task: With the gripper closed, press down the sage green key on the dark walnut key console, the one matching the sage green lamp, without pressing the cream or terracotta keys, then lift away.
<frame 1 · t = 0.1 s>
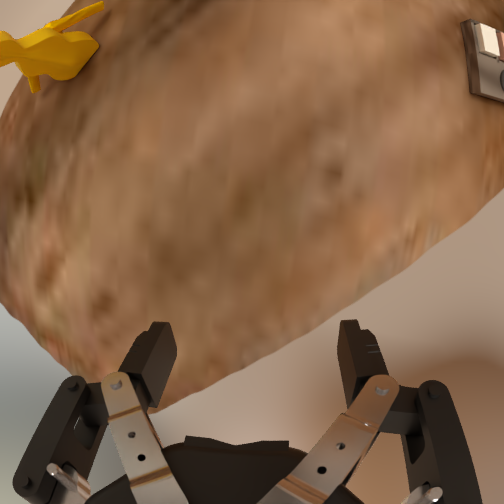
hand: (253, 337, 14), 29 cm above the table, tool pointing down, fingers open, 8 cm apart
key console: (496, 63, 27), on the table
figure statuette: (82, 55, 33), on the table
cream key: (486, 40, 24), point 3 cm above the table, slide at 0.0 cm
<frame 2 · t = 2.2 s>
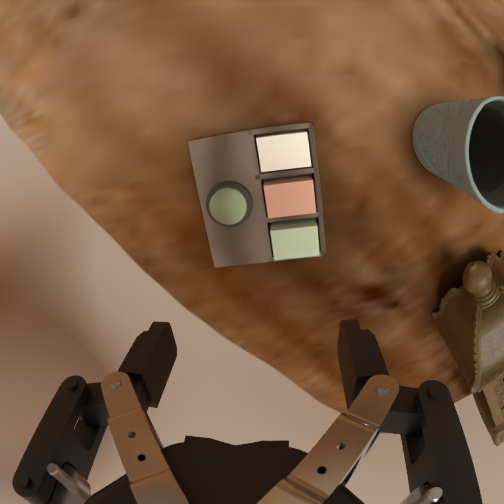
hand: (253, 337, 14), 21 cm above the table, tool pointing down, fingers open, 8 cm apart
terracotta key: (289, 196, 29), point 3 cm above the table, slide at 0.0 cm
grey-green tumbler: (443, 139, 28), on the table
key console: (266, 191, 32), on the table
brown lantern: (480, 311, 37), on the table
sage key: (294, 238, 31), point 3 cm above the table, slide at 0.0 cm
cream key: (283, 150, 27), point 3 cm above the table, slide at 0.0 cm
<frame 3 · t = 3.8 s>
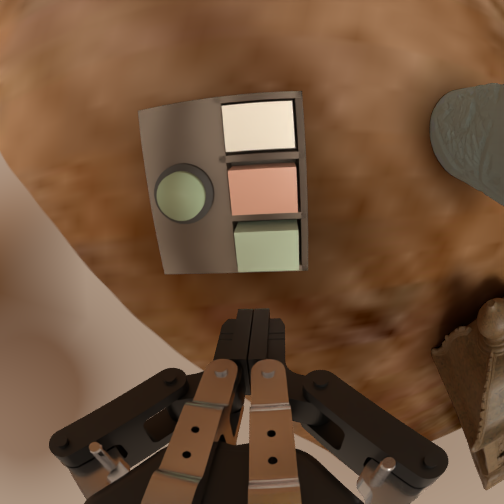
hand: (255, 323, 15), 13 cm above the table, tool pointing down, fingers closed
terracotta key: (264, 187, 21), point 3 cm above the table, slide at 0.0 cm
grey-green tumbler: (466, 134, 21), on the table
key console: (236, 181, 25), on the table
brown lantern: (484, 347, 31), on the table
sage key: (267, 245, 23), point 3 cm above the table, slide at 0.0 cm
cream key: (259, 125, 20), point 3 cm above the table, slide at 0.0 cm
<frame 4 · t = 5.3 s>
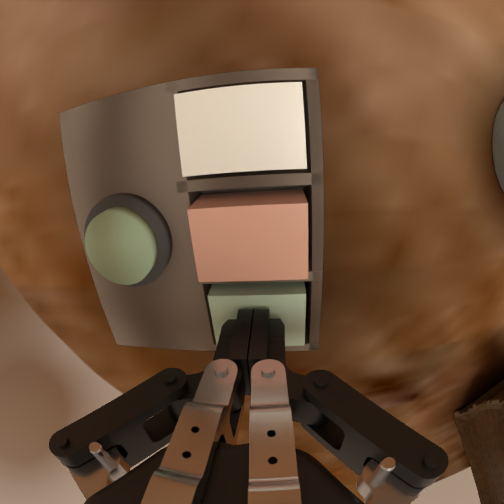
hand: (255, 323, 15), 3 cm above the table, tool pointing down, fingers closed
terracotta key: (251, 234, 13), point 3 cm above the table, slide at 0.0 cm
key console: (212, 214, 16), on the table
sage key: (259, 308, 16), point 2 cm above the table, slide at 0.9 cm, touching gripper
cream key: (243, 127, 11), point 3 cm above the table, slide at 0.0 cm
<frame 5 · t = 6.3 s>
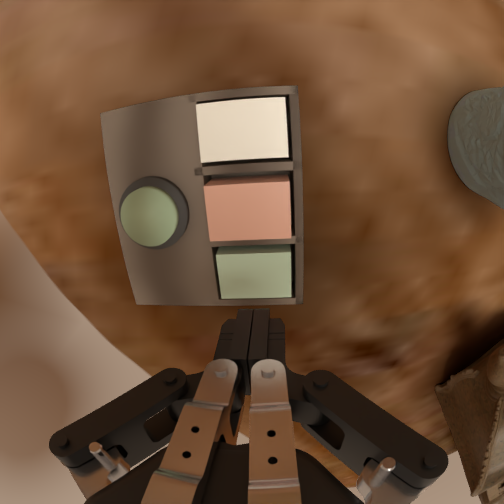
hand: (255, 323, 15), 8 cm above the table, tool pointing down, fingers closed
terracotta key: (249, 206, 17), point 3 cm above the table, slide at 0.0 cm
grey-green tumbler: (486, 141, 17), on the table
key console: (218, 196, 21), on the table
brown lantern: (490, 378, 28), on the table
sage key: (255, 268, 20), point 2 cm above the table, slide at 1.0 cm
cream key: (244, 129, 16), point 3 cm above the table, slide at 0.0 cm
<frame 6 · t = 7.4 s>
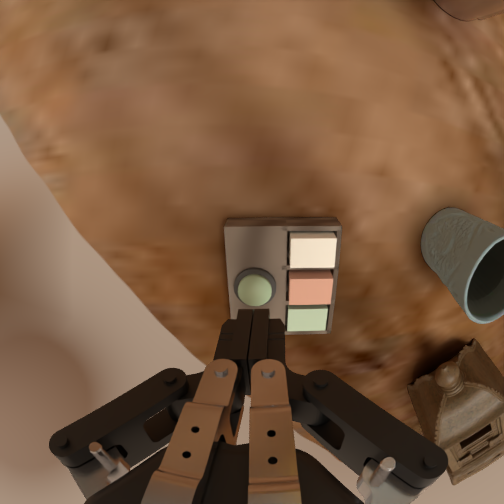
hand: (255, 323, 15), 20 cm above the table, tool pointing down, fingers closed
terracotta key: (309, 286, 33), point 3 cm above the table, slide at 0.0 cm
grey-green tumbler: (447, 237, 33), on the table
key console: (286, 273, 36), on the table
brown lantern: (449, 381, 44), on the table
sage key: (306, 314, 36), point 2 cm above the table, slide at 1.0 cm
cream key: (311, 248, 31), point 3 cm above the table, slide at 0.0 cm
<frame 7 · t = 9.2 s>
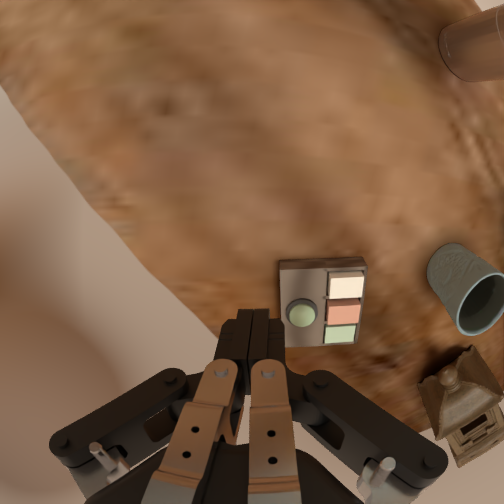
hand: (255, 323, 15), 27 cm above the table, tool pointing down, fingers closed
terracotta key: (342, 310, 42), point 3 cm above the table, slide at 0.0 cm
grey-green tumbler: (448, 265, 41), on the table
key console: (323, 299, 45), on the table
brown lantern: (452, 379, 52), on the table
sage key: (338, 329, 45), point 2 cm above the table, slide at 1.0 cm
cream key: (345, 283, 40), point 3 cm above the table, slide at 0.0 cm
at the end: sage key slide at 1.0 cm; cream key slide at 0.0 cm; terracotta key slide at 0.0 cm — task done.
